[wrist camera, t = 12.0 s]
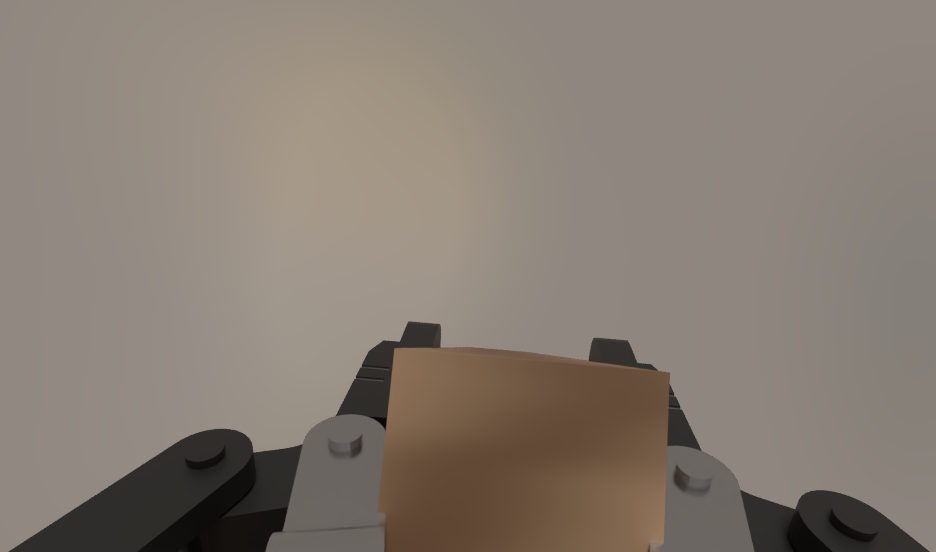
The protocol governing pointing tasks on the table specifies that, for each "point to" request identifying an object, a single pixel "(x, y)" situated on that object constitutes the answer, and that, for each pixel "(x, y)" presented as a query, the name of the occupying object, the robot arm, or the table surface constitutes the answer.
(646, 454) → the walnut block
